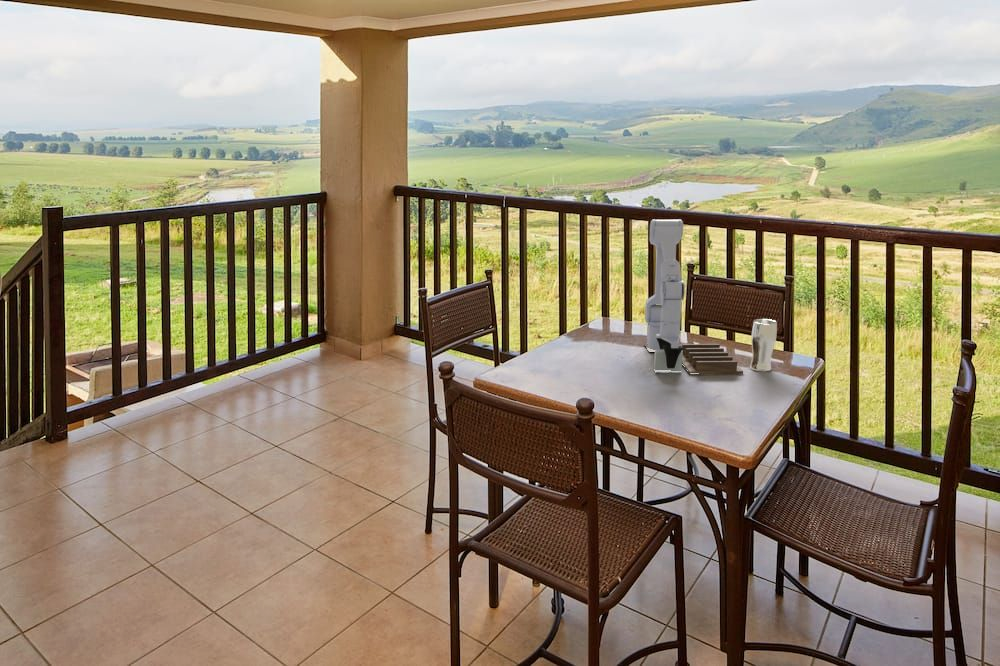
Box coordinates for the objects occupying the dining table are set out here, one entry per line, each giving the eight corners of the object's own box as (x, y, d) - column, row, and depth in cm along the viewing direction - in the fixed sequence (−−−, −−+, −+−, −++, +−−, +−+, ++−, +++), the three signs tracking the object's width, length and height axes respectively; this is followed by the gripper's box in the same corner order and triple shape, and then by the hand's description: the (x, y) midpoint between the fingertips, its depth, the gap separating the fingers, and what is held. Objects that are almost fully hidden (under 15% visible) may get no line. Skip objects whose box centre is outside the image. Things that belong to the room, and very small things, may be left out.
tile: (653, 371, 199) (654, 349, 197) (679, 371, 199) (681, 349, 197) (654, 373, 197) (656, 351, 195) (681, 373, 197) (682, 351, 195)
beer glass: (746, 370, 198) (751, 323, 193) (749, 363, 204) (754, 317, 199) (771, 373, 195) (776, 325, 190) (773, 366, 201) (778, 320, 196)
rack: (675, 355, 212) (676, 344, 211) (724, 355, 212) (725, 343, 211) (689, 374, 195) (690, 362, 194) (742, 374, 195) (744, 361, 194)
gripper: (652, 314, 200) (649, 356, 204) (662, 327, 186) (659, 372, 190) (675, 314, 200) (672, 356, 204) (686, 327, 186) (683, 371, 190)
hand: (667, 363), depth 197 cm, fingers open, 7 cm apart
